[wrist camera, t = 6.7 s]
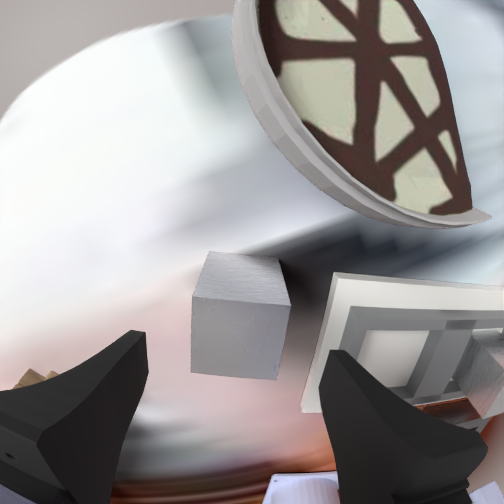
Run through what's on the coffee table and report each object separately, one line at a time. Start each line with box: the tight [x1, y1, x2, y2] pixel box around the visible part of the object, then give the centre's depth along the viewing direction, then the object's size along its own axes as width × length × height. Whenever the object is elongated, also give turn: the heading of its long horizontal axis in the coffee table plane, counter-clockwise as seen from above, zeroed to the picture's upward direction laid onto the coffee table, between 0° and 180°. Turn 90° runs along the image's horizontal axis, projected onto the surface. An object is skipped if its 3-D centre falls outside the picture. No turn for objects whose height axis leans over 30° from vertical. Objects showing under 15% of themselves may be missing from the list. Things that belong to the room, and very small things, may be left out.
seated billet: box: [452, 329, 504, 419], centre depth 17 cm, size 4×4×6 cm
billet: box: [191, 251, 291, 380], centre depth 16 cm, size 4×4×6 cm
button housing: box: [423, 399, 492, 434], centre depth 23 cm, size 8×8×3 cm
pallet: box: [300, 272, 504, 413], centre depth 19 cm, size 11×19×2 cm, turn 84°
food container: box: [231, 0, 492, 229], centre depth 11 cm, size 12×6×10 cm, turn 19°
